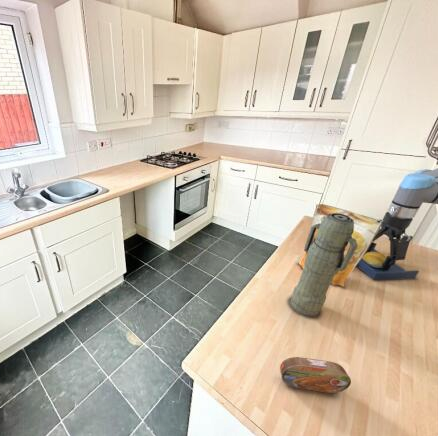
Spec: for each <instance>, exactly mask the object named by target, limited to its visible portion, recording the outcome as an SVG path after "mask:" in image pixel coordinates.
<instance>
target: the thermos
mask: <svg viewBox="0 0 438 436" xmlns="http://www.w3.org/2000/svg"><path fill="white" fill-rule="evenodd" d="M316 228H317V229H319V230H318V232H317V235H316V239H315V240H314V243H313V244H312V245H311V242H312V239H313V236H314V234H315V231H316ZM309 231H310V233H309V232H308V235H309V236H307V239H306V242H305V245H304V250H303V252H306V254H307V255H306V258H305V261H304V263H305V266H304V269H303V268H302V272H301V275H300V277H299V279H298V283H297V285H296V286H295V287H294V289H293V291H292V293H291V298H290V301H289V303H290V306H291V308H292V309H293V310H294V311H295V312H296V313H298V314H300V315H302V316H304V317H309V318H314V317H317V316H318V315H319V314H320V311H321V310H322V308H323V306H324V304H325V302H326V299H327V293H328V290H329V289H330V286H331V285H332V284H331V282H332V279H333V277H334V275H336V274H337V273H338V271H341V270H345V269H346V268H347V266H348V263H349V261H350V259H351V258H352V256H353V254H354V252H355V250H356V248H357V246H358V245H357V242H356V240H355V239H353V238H352V234H353V231H354V220H353V219H352V218H350V217H349V216H347V215H344V214H340V213H331V214H328V215H327V216H326V217H325V218H324V219H323V220H322V222H321V224H320V223H319V224H316V225H314V226H313V227H312V228H311V230H310V229H309ZM348 242H349V244H350V247H349V249H348V252H347V254H346V256H345V258H344V251H345V247H346V246H347V245H348ZM310 245H311V246H310Z"/></svg>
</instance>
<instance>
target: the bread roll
mask: <svg viewBox="0 0 438 436" xmlns="http://www.w3.org/2000/svg"><path fill="white" fill-rule="evenodd" d="M386 258H387V256H386V255H385V254H383V253H380V252H379V253H378V251H377V252H367V253H365V254H364V256H363V257H362V261H364V262H365V263H366V264H368V265H369V266H372V267H375V268H381V267H382V265H383V263H384V262H385V260H386Z"/></svg>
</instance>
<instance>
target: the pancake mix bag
mask: <svg viewBox="0 0 438 436" xmlns="http://www.w3.org/2000/svg"><path fill="white" fill-rule="evenodd" d="M331 213H340V214H344V215H347V216H349V217H350V218H352V219H353V220H354V231H353V234H352V238H353V239H355V240H356V242H357V245H358V246H357V248H356V250H355V252H354V254H353V256H352V258H351V259H350V261H349V263H348V266H347V268H346V269H345V270H341V271H338V273H337V274H336V275H334V277H333V279H332V282H331V284H330V285H333V286H340V287H343V288H344V287H345V281H346V280H347V279H348V277H349V276H350V275H351V274H352V272H353V271H354V269H355V268H356V267H357V264H358V262H359V261H360V259H361V258H362V257H363V255H364V253H365V252H366V251H367V250H368V248H369V246H370V245H371V243H372V241H373V239H374V237H375V236H376V234H377V233H378V232H379V230H380V229H381V223H379V222H378V220H379V219H376V218H374V217H371V216H366V215H364V214H359V213H355V212H353V211H350V210H347V209H343V208H339V207H335V206H332V205H329V204H324V203H317V204H316V206H315V209H314V212H313V216H312V221H311V224H310V228H309V231H308V236H309V233H310V230H311V228H312V227H313V226H314V225H316V224H319V223H320V224H321V222H322V220H323V219H324V218H325V217H326V216H327V215H328V214H331ZM318 230H319V229H317V228H316V231H315V234H314V236H313V239H312V242H311V245H312V244H313V243H314V240H315V239H316V235H317V232H318ZM308 236H307V237H308ZM311 245H310V246H311ZM349 247H350V244H349V242H348V245H347V246H346V247H345V251H344V258H345V256H346V254H347V252H348V249H349ZM303 252H304V253H303V255H302V258H301V260H300V262H299V263H298V265H299V266H301V267H302V268H301V269H302V270H303V269H304V266H305V263H304V261H305V258H306V255H307V254H306V252H305V251H303Z"/></svg>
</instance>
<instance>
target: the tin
mask: <svg viewBox="0 0 438 436" xmlns="http://www.w3.org/2000/svg"><path fill="white" fill-rule="evenodd" d="M279 373H280V376H281V379H282V381H283V383H284V384H285V385H287V386H289V387H292V388H295V389H301V390H309V391H314V392H320V393H327V394H337V393H341V392H343V391H346V390H347V389H348V388H350V386H351V384H352V379H351V377H350V376H349V374H348V372H347V371H346V369H345V368H344V367H343V366H342V365H341V364H339V363H337V362H335V361H329V360H321V359H314V358H307V357H300V356H294V357H293V356H292V357H289V358H286V359H284V360H283V361H282V362H281V364H280V365H279Z"/></svg>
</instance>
